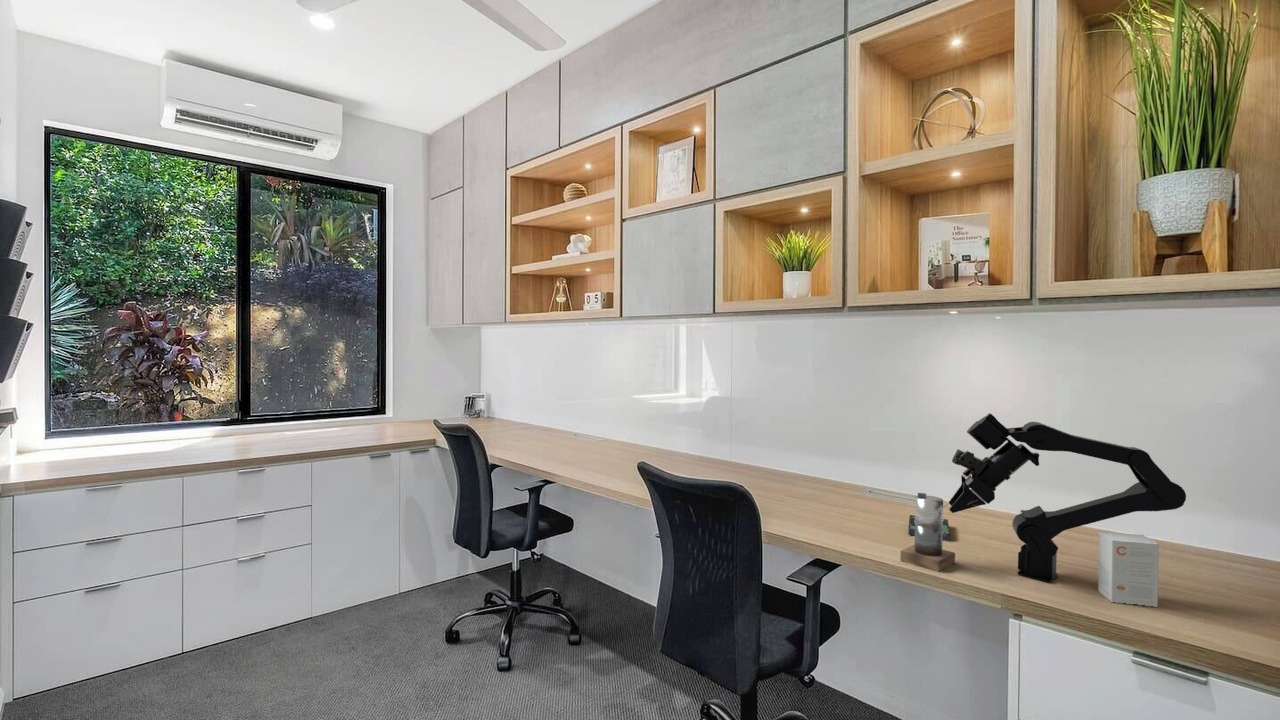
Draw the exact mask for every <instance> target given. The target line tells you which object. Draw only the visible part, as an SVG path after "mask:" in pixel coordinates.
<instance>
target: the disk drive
mask: <svg viewBox="0 0 1280 720" xmlns="http://www.w3.org/2000/svg"><path fill="white" fill-rule="evenodd" d="M908 520H909V521H908V536H909V535H910V536H909V537H913V536H915V514H914V515H913V514H912V515H911V514H909V519H908ZM950 537H951V535H950V527H949V520H948V519H945V518H943V532H942V541H943V540H945V541H944V542H950Z"/></svg>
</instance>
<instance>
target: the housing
mask: <svg viewBox="0 0 1280 720" xmlns="http://www.w3.org/2000/svg"><path fill="white" fill-rule="evenodd" d="M914 500H915V501H914V502H915V503H914V504H915V506H914V507H915V508H914V509H915V510H914V511H915V514H914V516H915V537H914V545H915V551H916V552H917V553H919V554H922V555H927V556H940V555H942V549H943V540H942V532H943V519H944V516H943V515H944V499H943V498H941V497H938V496H934V495H927V493H925V492H918V493H917V495H916V496H915V499H914Z"/></svg>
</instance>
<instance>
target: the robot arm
mask: <svg viewBox="0 0 1280 720" xmlns="http://www.w3.org/2000/svg"><path fill="white" fill-rule="evenodd" d="M966 433H967V434H968V435H969V436H970V437H972V438H973V439H974V440H975V442H977V443H978V444H980V445H981V446H982V447H983V448H984V449H985V450H989V449H992V450H993V451H995V450H996V451H995V452H994V453H993V454H991V455H990V456H985V457H984V458H982V459H981V458H979V457H976V456H975V454H974V452H973V453H972V452H971V451H968V450H966V451H963V450H960V449H958V448H957V449H956V451H955V453H954V455H953V457H952V459H951V463H953V464H954V465H957V466H961V467H964V468H965V470H964V471H963V472H962V474H961V475H960V478H961V480H960V481H961V485H960V486H959V488H957V490H956V491H955V493H954V494H953V496H952V497H951V498H950V500H949V501H948V504H949V505H950V508H949V510H948V511H950V512H951V513H952V514H955V513H958V512H961V511H962V512H963V511H964V510H968V509H969V510H970V509H971V508H977V507H980V506H986V504H988V505H989V504H990V503H991V502H993V501H994V500H995V496H996V493H995V491H996V490H997V488H998V487H999V486H1000V485H1001V484H1002V483H1004V481H1008V480H1010V479H1011V476H1012V475H1013V474H1015V472H1017V471H1018V470H1019V469H1020V468H1022V467H1023V466H1024V465H1025V464H1026V463H1027V462H1031V464H1033V465H1034V466H1036V467H1038V466H1040V454H1039V453H1038V452H1032V451H1031V450H1030V449H1028V447H1030V448H1031V449H1033V450H1037V451H1047V452H1067V453H1068V452H1070V453H1073V454H1078V455H1083V456H1087V457H1092V458H1094V459H1095V458H1096V459H1100V460H1104V461H1109V462H1114V463H1117V464H1122V465H1127V466H1128V468H1129V469H1130V470H1131V472H1132V474H1133V475H1134V477H1135V478H1136V480H1137V481H1138V482H1136V483H1134V484H1132V485H1131V486H1130V487H1128V488H1127V489H1126V490H1123V491H1122V492H1119V493H1115V494H1111V495H1107V496H1104V497H1101V498H1097V499H1094V500H1090V501H1086V502H1083V503H1082V502H1081V503H1079V504H1076V505H1075V504H1074V505H1071V506H1068V507H1065V508H1061V509H1058V510H1054V511H1053V510H1052V511H1049V510H1048V511H1044V509H1043V508H1042V507H1041V506H1040V505H1037V506H1034V507H1032V508H1030V509H1025V510H1024V509H1020V513H1019V514H1016V515H1015V516H1014V518H1013V520H1012V527H1013V529H1012V530H1013V531H1014V533H1015V534H1016V536H1017V537H1018V539H1019V541H1021V542H1023V543H1024V544H1023V545H1021V546H1020V551H1018V553H1017V558H1018V559H1017V569H1018V571H1017V575H1019V576H1023V577H1026V578H1029V579H1034V580H1038V581H1042V582H1045V583H1049V584H1050V583H1052V582H1053V581H1054V580H1056V579H1057V578H1058V577H1060V576H1059V573H1057V558H1058V556H1057V554H1058V550H1059V547H1058V546H1057V544H1056V543H1055V542H1054V540H1053V539H1054V538H1055V537H1057V536H1058V535H1060V534H1061V533H1062V532H1064V531H1067V530H1071V529H1074V528H1078V527H1082V526H1086V525H1090V524H1092V523H1097V522H1098V523H1099V522H1100V521H1104V520H1108V519H1113V518H1116V517H1120V516H1124V515H1127V514H1131V513H1135V512H1162V511H1173V510H1177V509H1180V508H1181V507H1183V506H1184V504H1185V502H1186V500H1187V493H1186V491H1185V490H1184V489H1183V487H1182V486H1181V485H1179V484H1178V483H1175V482H1174V481H1171V479H1170V478H1169V477H1168V476H1167V475H1166V474H1165V472H1164V471H1163V470H1162V469H1161V468H1160V467H1159V466H1158V465H1157V464H1156V462H1154V461H1153V459H1152V457H1151V455H1150V454H1149V453H1148V452H1147V451H1145V450H1143V449H1141V448H1138V447H1135V446H1124V445H1121V444H1117V443H1111V442H1107V441H1103V440H1097V439H1093V438H1088V437H1083V436H1079V435H1075V434H1070V433H1067V432H1065V431H1062V430H1060V429H1057V428H1055V427H1052V426H1049V425H1046V424H1044V423H1042V422H1038V421H1029V422H1027V423H1026V424H1024V425H1023V426H1020V427H1018V426H1017V427H1008V428H1007V427H1006V426H1005V425H1003V424H1002V423H1001V422H1000V421H999V420H998V419H997V418H996V416H994V415H993V414H992V413H989V412H988V413H987V414H986V416H983V417H982V418H981V419H979V420H977V421H975V422H974V423H973V424H972V425H971V426H970V427H968V429H967V431H966ZM1008 437H1011V438H1012V439H1013V440H1014V441H1016V442H1020V443H1019V444H1017V445H1016V444H1015V442H1013V441H1012V440H1010V438H1008ZM1024 444H1026V445H1027V446H1028V447H1026V446H1025V445H1024Z"/></svg>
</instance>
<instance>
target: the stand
mask: <svg viewBox="0 0 1280 720" xmlns="http://www.w3.org/2000/svg"><path fill="white" fill-rule="evenodd" d="M900 562H903V563H906V564H910V565H914V566H916V567H917V566H918V567H920V568H924V569H928V570H931V571H933V572H937V573H939V572H941V571H943V570H944V568H945V569H946V567H947V568H948V567H950V566H952V565H954V564H955V563H956V552H953V551H950V550H946V549H943V548H942V555H940V556H927V555H922V554H919V553H917V552H916V551H915V544H913V545H909V546H908V547H905V548H904V549H901V550H900ZM953 563H954V564H953ZM951 564H952V565H951ZM949 565H950V566H949ZM942 569H943V570H942Z"/></svg>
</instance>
